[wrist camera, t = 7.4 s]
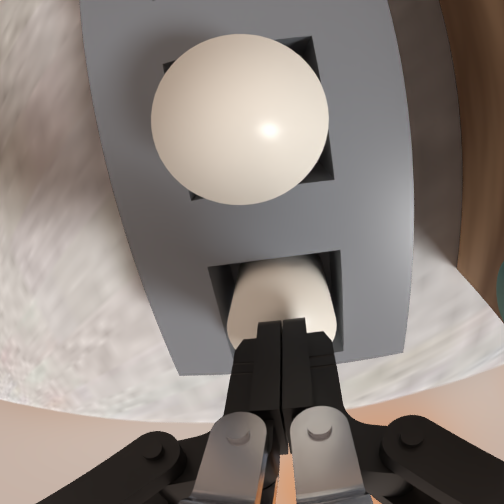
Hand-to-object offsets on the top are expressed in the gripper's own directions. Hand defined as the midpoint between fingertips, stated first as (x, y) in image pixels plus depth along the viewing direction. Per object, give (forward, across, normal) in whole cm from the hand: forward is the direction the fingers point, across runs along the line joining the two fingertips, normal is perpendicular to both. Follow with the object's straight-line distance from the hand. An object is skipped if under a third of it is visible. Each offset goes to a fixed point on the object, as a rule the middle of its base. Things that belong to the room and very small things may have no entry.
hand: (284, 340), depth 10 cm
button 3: (+5, 0, 0) cm, 5 cm away
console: (+6, 0, -7) cm, 9 cm away
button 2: (+3, 0, -7) cm, 7 cm away
